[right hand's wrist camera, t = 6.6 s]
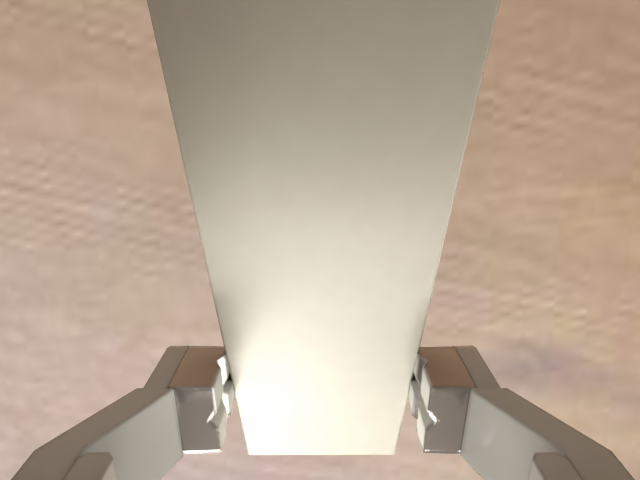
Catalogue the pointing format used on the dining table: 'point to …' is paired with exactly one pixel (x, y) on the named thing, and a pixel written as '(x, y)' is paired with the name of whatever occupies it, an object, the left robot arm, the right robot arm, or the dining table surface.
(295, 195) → the bar
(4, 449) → the dining table surface
